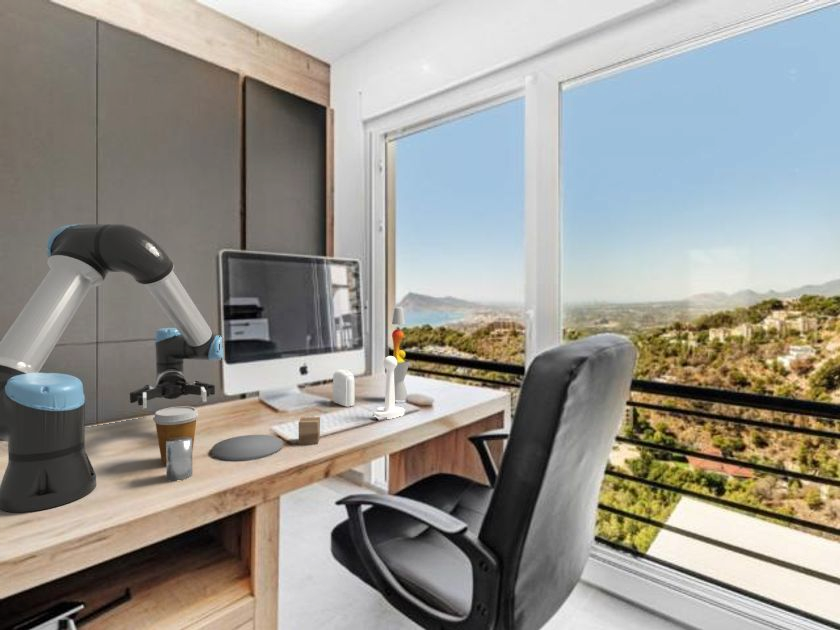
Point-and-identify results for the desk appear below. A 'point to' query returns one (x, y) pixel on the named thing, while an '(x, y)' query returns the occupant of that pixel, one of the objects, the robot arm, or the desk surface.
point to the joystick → (389, 392)
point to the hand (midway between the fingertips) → (175, 399)
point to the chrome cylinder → (179, 458)
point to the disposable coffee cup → (174, 425)
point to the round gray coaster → (247, 447)
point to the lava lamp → (399, 356)
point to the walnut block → (309, 430)
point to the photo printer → (344, 388)
